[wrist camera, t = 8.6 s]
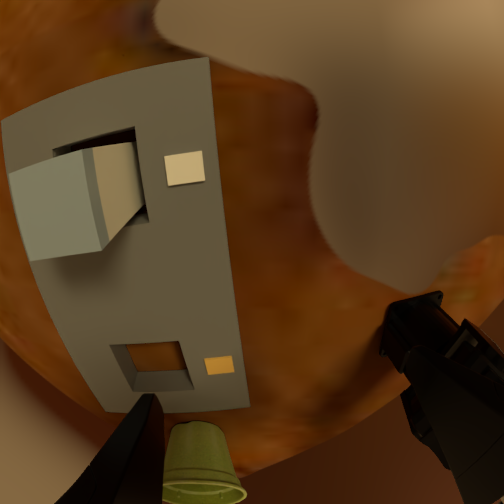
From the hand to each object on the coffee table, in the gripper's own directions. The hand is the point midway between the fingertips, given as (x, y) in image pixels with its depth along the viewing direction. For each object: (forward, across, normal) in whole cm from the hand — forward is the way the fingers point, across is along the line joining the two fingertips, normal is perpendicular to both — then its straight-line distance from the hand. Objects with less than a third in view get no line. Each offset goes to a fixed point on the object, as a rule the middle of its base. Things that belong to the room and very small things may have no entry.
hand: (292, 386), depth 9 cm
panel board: (+12, +8, +1) cm, 15 cm away
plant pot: (+12, +8, +22) cm, 26 cm away
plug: (+12, +8, -6) cm, 16 cm away
